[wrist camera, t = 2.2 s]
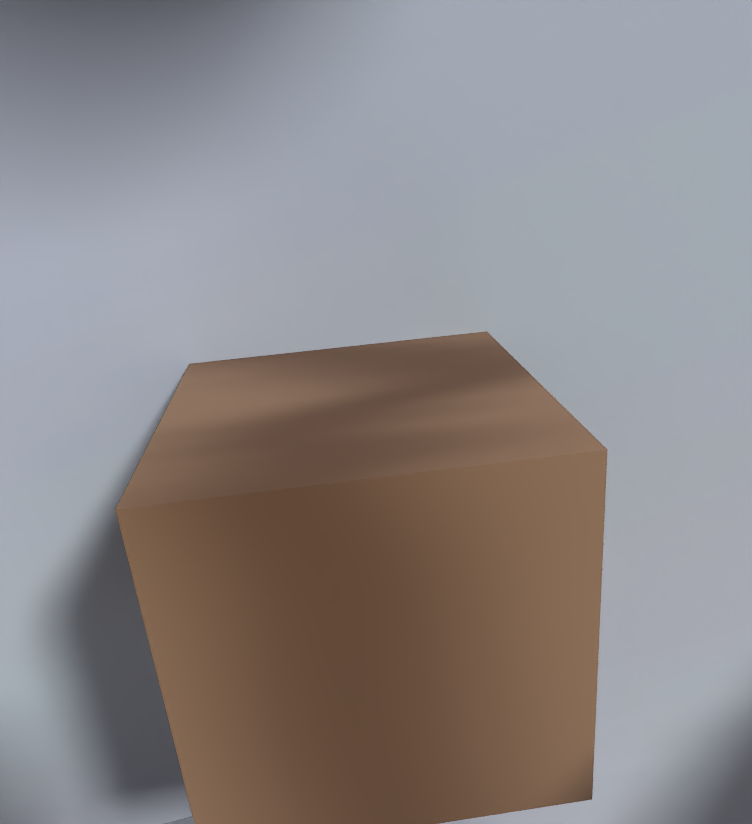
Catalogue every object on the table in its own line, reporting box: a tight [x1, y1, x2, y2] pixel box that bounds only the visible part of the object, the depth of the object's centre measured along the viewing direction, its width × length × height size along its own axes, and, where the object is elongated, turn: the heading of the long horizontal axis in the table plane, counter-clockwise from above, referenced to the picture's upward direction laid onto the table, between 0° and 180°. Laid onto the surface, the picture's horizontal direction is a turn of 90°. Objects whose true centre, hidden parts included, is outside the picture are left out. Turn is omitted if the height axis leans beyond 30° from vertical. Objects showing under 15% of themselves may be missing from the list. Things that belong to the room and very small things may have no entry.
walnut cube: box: [115, 332, 607, 824], centre depth 10 cm, size 5×5×5 cm
